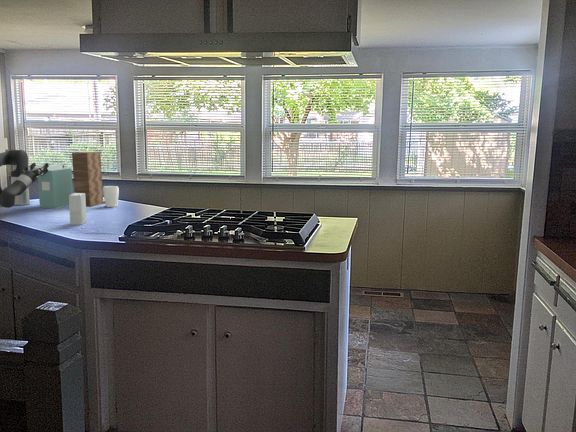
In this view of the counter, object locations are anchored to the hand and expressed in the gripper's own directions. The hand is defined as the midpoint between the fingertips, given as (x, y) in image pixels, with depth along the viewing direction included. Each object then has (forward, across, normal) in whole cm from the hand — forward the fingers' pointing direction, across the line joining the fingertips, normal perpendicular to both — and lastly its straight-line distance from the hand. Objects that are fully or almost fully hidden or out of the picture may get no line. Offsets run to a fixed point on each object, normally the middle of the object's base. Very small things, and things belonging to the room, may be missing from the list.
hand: (41, 164), depth 301 cm
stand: (+5, +16, -33) cm, 37 cm away
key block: (-3, 0, -28) cm, 28 cm away
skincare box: (-46, +48, -4) cm, 67 cm away
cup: (+2, +33, -32) cm, 46 cm away
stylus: (+3, 0, -6) cm, 7 cm away
